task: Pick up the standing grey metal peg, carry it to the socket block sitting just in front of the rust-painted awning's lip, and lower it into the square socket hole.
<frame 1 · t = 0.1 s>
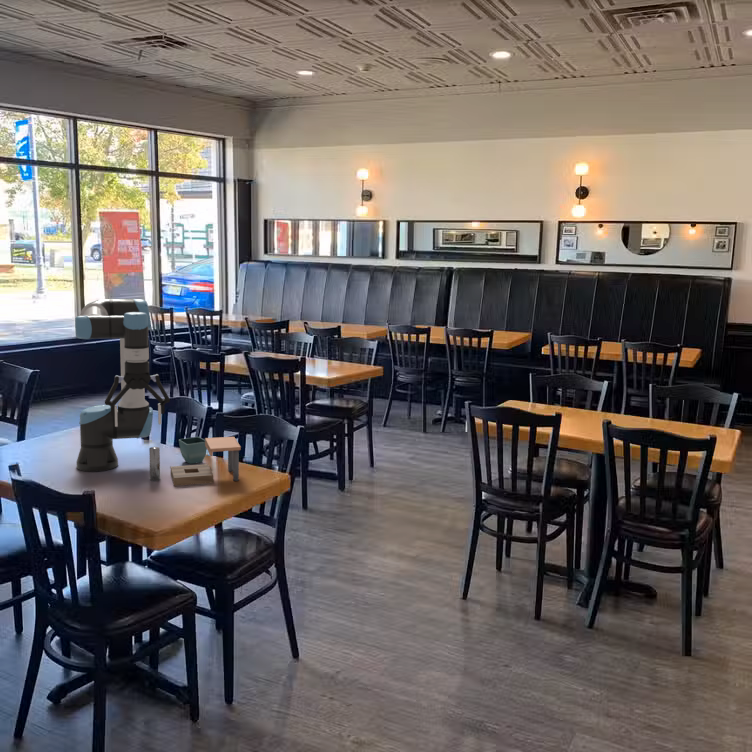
hand: (138, 424, 249), 28 cm above the table, fingers open, 13 cm apart
awning: (229, 475, 289), on the table
socket block: (191, 478, 284), on the table
peg: (155, 479, 281), on the table
flower pot: (193, 462, 304), on the table
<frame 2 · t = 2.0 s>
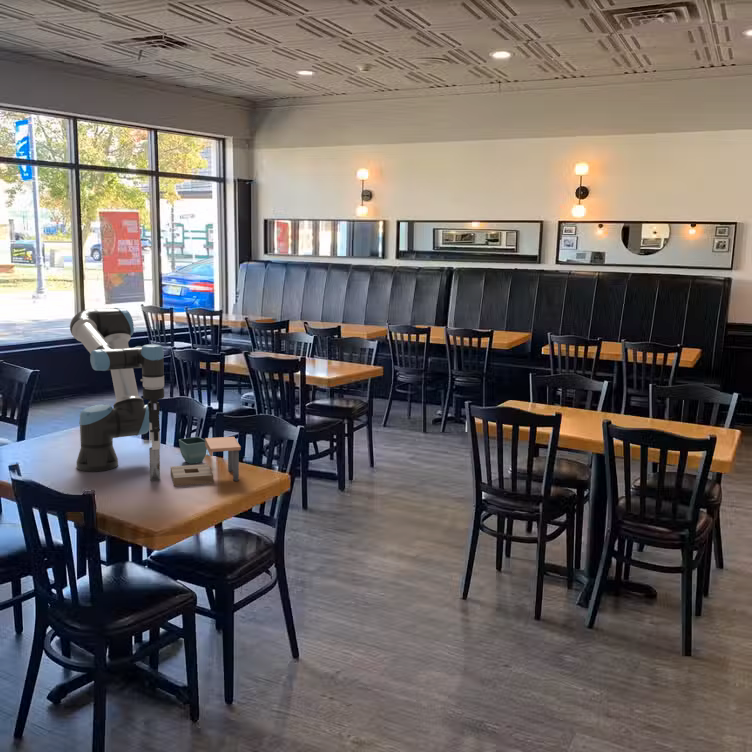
hand: (154, 444, 279), 13 cm above the table, fingers open, 13 cm apart
nothing on the table moved.
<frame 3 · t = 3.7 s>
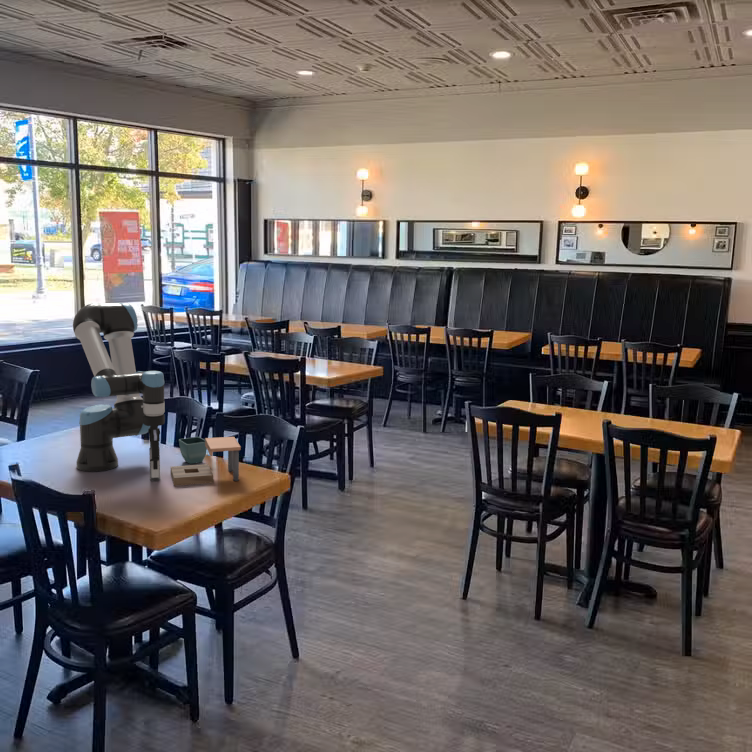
hand: (155, 475, 281), 2 cm above the table, fingers closed on peg, 3 cm apart
peg: (155, 479, 281), on the table, touching gripper
everything else where it was.
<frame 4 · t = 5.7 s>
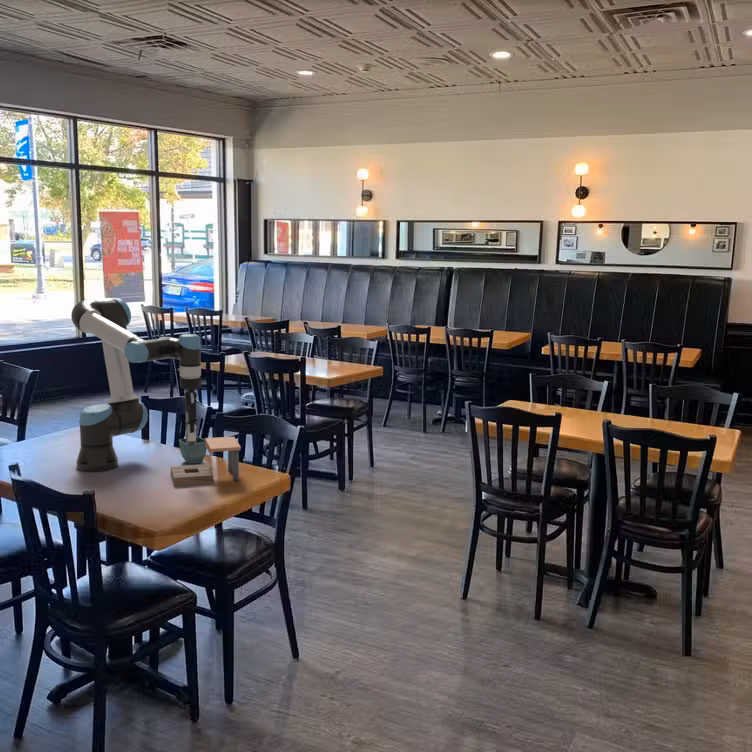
hand: (191, 439, 281), 15 cm above the table, fingers closed on peg, 3 cm apart
peg: (191, 444, 281), point 13 cm above the table, touching gripper
everything else where it was.
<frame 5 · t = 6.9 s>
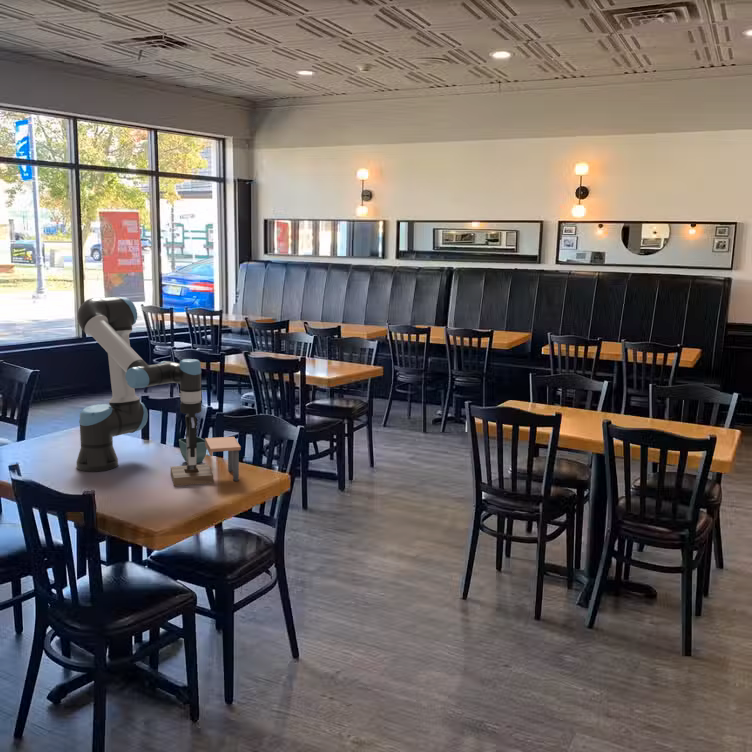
hand: (191, 463, 283), 6 cm above the table, fingers closed on peg, 3 cm apart
peg: (191, 468, 283), point 4 cm above the table, touching gripper
everything else where it was.
when the fingers open (3 cm above the table, at t = 7.6 s): peg drops 1 cm, on the table.
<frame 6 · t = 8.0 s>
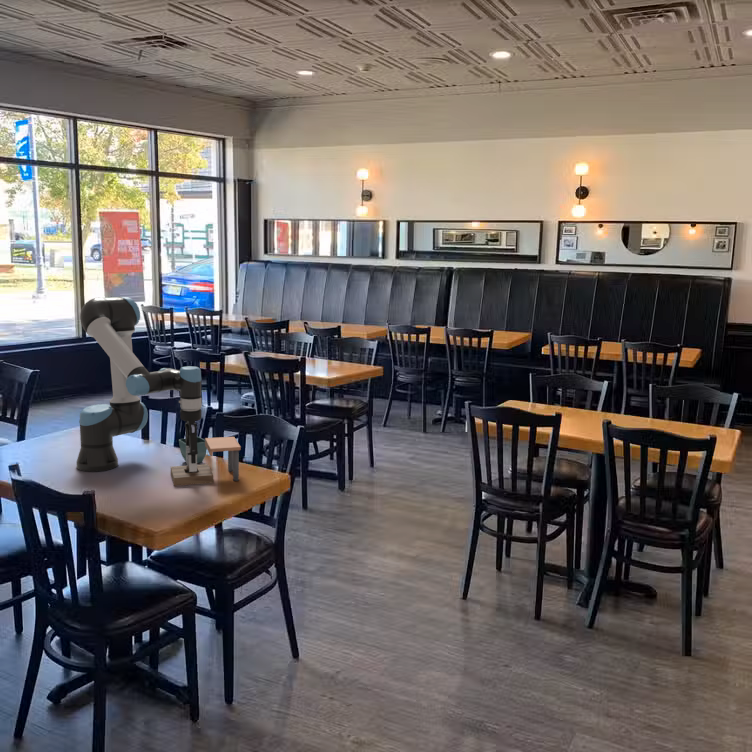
hand: (191, 466, 283), 4 cm above the table, fingers open, 10 cm apart
peg: (191, 478, 284), on the table
everything else where it was.
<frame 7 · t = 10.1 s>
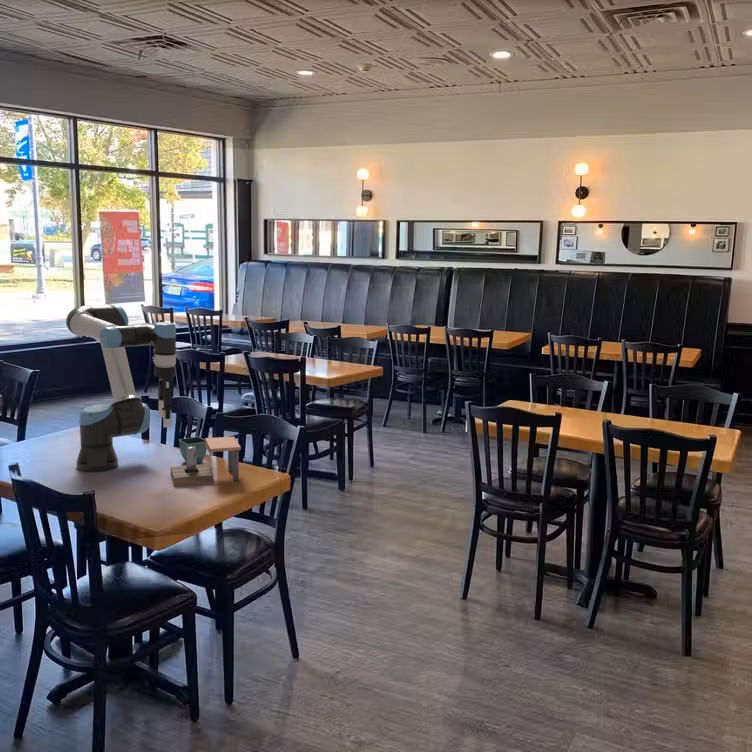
hand: (164, 422, 279), 22 cm above the table, fingers open, 13 cm apart
nothing on the table moved.
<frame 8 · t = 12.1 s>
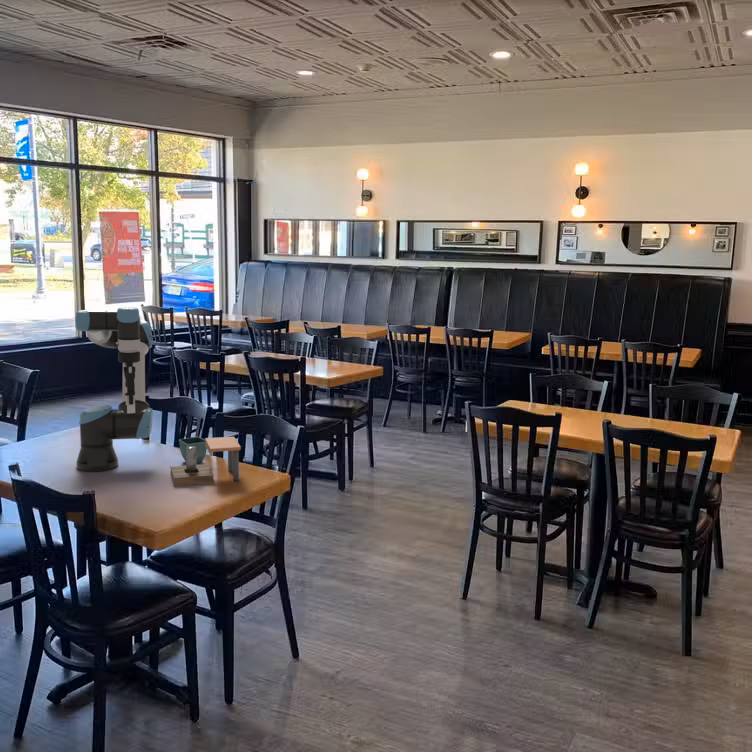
hand: (130, 408, 276), 27 cm above the table, fingers open, 13 cm apart
nothing on the table moved.
at the end: peg 0.0 cm off-centre on the socket block, point 0.0 cm above the socket block's base; peg tilted 0°; the gripper is holding nothing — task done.
